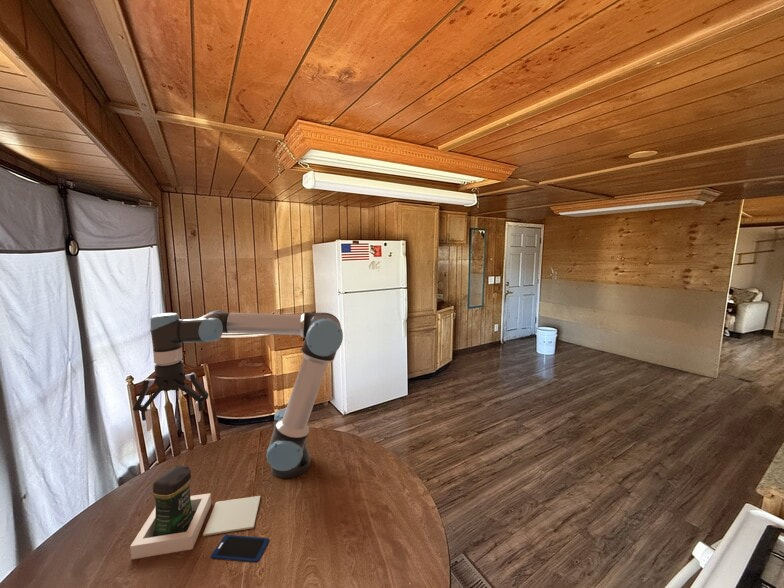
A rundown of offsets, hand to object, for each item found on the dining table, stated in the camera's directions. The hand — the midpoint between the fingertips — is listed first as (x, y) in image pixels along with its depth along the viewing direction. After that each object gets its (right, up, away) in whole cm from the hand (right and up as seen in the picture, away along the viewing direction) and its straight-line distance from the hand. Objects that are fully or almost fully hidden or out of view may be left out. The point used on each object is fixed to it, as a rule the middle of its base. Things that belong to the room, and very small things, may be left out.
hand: (174, 424), depth 105 cm
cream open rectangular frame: (+5, -29, -7) cm, 30 cm away
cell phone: (+28, -31, -13) cm, 43 cm away
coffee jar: (+5, -29, -7) cm, 30 cm away
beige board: (+20, -29, -2) cm, 35 cm away
